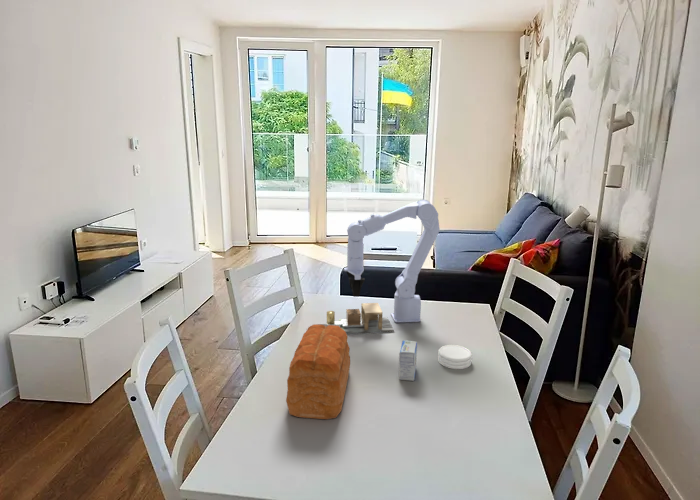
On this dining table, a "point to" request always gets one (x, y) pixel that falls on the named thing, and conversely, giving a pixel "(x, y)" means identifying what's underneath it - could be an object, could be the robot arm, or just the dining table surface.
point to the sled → (351, 319)
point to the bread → (319, 373)
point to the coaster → (454, 357)
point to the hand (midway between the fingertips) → (354, 292)
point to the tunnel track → (371, 320)
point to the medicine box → (407, 360)
